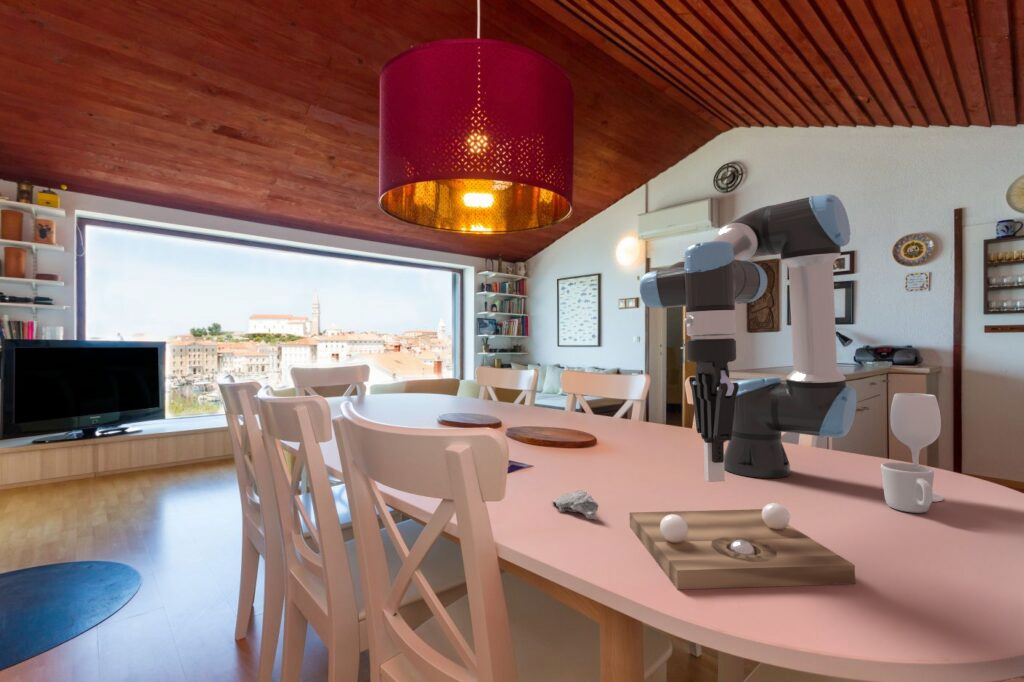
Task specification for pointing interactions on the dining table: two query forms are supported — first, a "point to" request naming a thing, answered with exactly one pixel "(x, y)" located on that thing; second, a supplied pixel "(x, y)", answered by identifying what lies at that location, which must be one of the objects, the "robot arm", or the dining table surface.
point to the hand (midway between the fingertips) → (714, 480)
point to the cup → (907, 486)
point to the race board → (715, 566)
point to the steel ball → (742, 547)
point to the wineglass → (916, 423)
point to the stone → (577, 503)
